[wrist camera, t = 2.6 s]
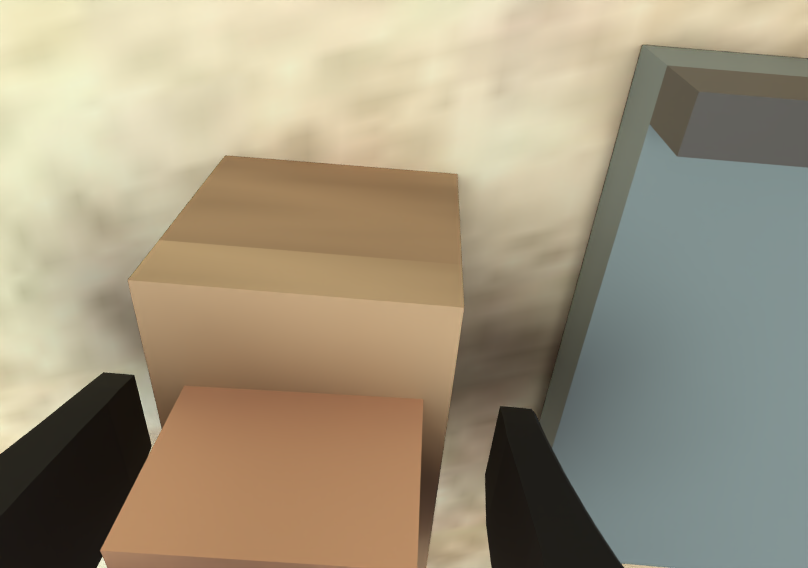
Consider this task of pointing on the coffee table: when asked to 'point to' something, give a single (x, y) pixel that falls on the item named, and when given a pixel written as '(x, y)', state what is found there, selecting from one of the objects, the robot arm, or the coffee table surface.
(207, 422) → the carton
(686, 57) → the dock
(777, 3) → the coffee table surface
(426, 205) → the tan rectangular block
